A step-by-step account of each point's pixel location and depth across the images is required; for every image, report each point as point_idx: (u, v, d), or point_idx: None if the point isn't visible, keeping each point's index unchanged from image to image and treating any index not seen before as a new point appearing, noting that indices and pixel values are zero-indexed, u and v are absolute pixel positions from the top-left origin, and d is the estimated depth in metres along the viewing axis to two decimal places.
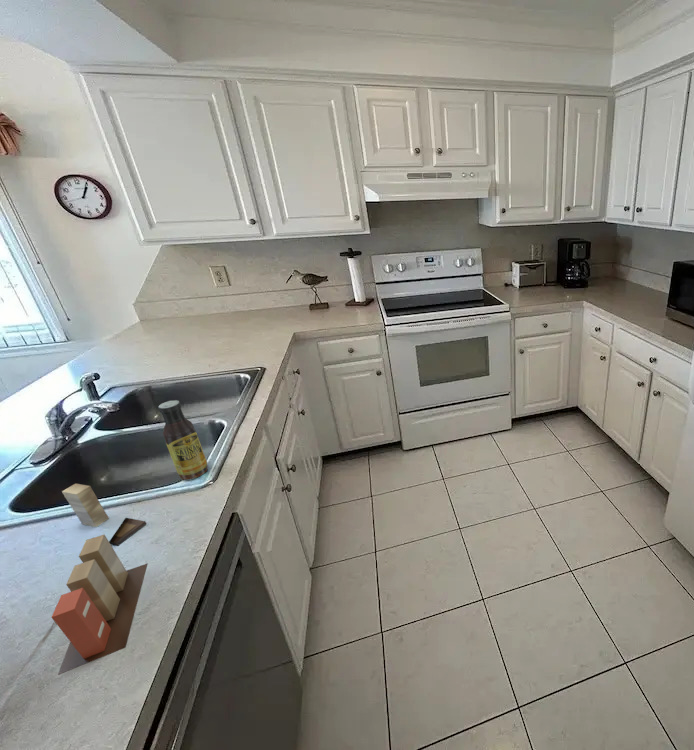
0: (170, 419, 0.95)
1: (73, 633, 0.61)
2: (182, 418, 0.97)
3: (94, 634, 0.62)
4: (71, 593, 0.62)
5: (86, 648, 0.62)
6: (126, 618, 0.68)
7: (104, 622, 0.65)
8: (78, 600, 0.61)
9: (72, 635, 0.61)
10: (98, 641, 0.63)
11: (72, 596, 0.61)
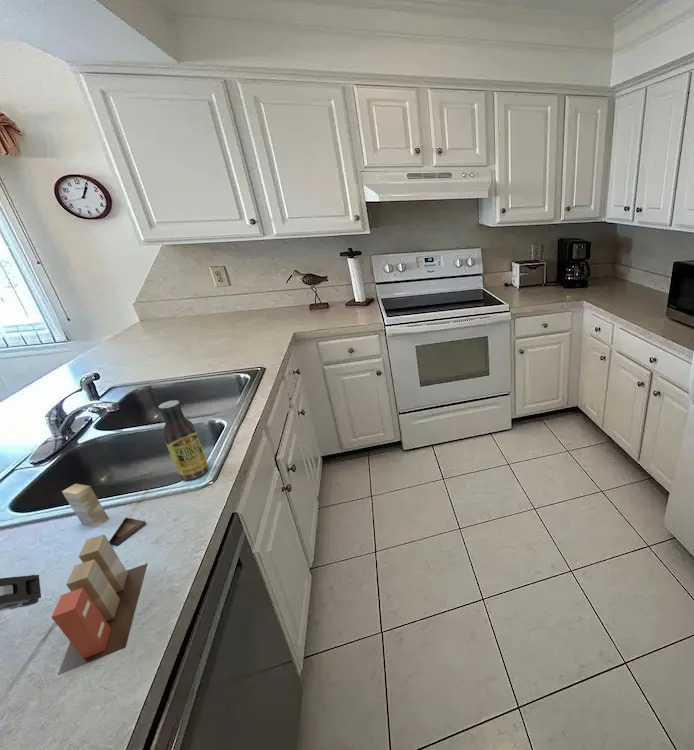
0: (170, 419, 0.95)
1: (73, 633, 0.61)
2: (182, 418, 0.97)
3: (94, 634, 0.62)
4: (71, 593, 0.62)
5: (86, 648, 0.62)
6: (126, 618, 0.68)
7: (104, 622, 0.65)
8: (78, 600, 0.61)
9: (72, 635, 0.61)
10: (98, 641, 0.63)
11: (72, 596, 0.61)
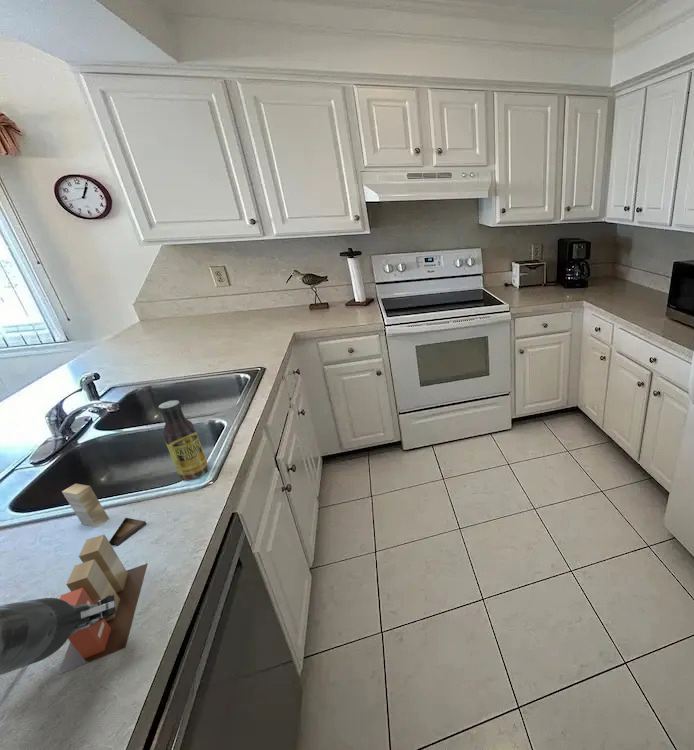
0: (170, 419, 0.95)
1: None
2: (182, 418, 0.97)
3: (94, 634, 0.62)
4: (71, 593, 0.62)
5: (86, 648, 0.62)
6: (126, 618, 0.68)
7: (104, 622, 0.65)
8: (78, 600, 0.61)
9: (72, 635, 0.61)
10: (98, 641, 0.63)
11: (72, 596, 0.61)
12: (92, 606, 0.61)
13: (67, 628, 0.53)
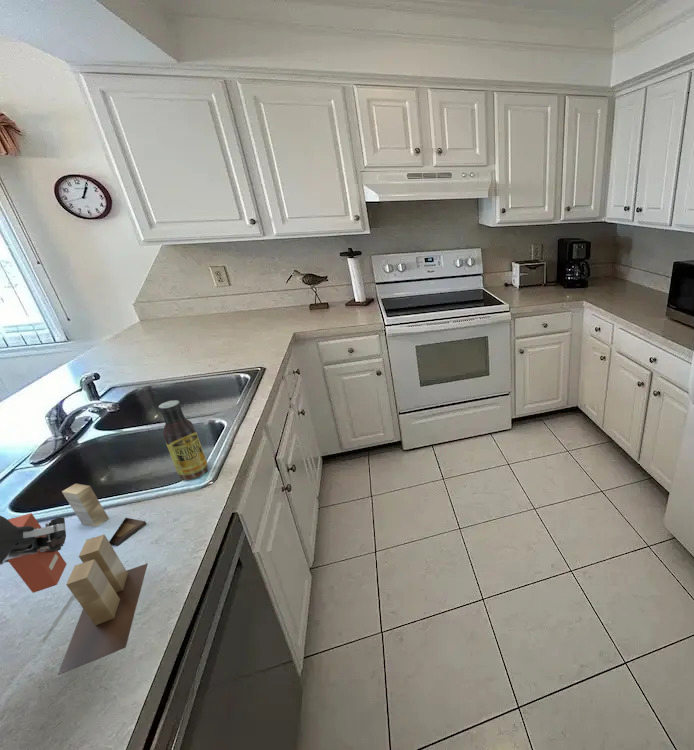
0: (170, 419, 0.95)
1: (19, 561, 0.54)
2: (182, 418, 0.97)
3: (43, 565, 0.56)
4: (17, 518, 0.55)
5: (35, 580, 0.56)
6: (126, 618, 0.68)
7: (58, 555, 0.59)
8: (25, 524, 0.54)
9: (18, 564, 0.54)
10: (49, 573, 0.56)
11: (18, 521, 0.55)
12: None
13: (4, 544, 0.47)
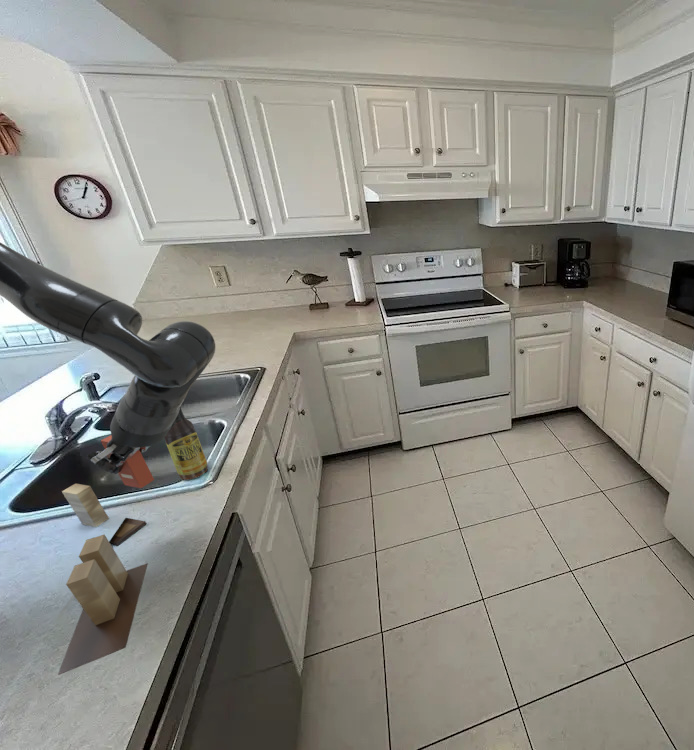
0: None
1: (133, 460, 0.73)
2: (182, 418, 0.97)
3: (145, 463, 0.75)
4: (109, 436, 0.72)
5: (142, 477, 0.75)
6: (126, 618, 0.68)
7: None
8: None
9: (132, 462, 0.73)
10: (149, 470, 0.76)
11: None
12: None
13: None
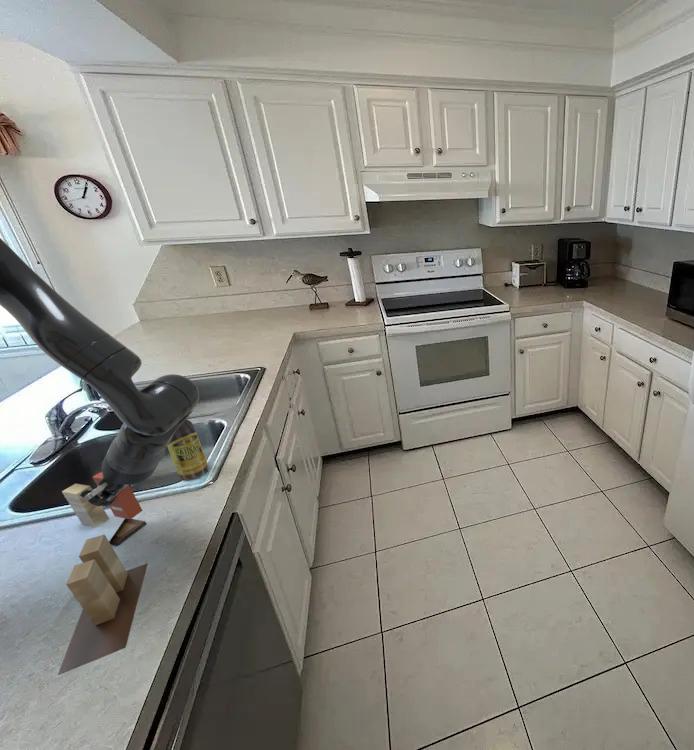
0: None
1: (123, 494, 0.79)
2: None
3: (134, 496, 0.82)
4: (100, 473, 0.79)
5: (131, 508, 0.81)
6: (126, 618, 0.68)
7: None
8: None
9: (122, 496, 0.79)
10: (137, 502, 0.82)
11: None
12: None
13: None
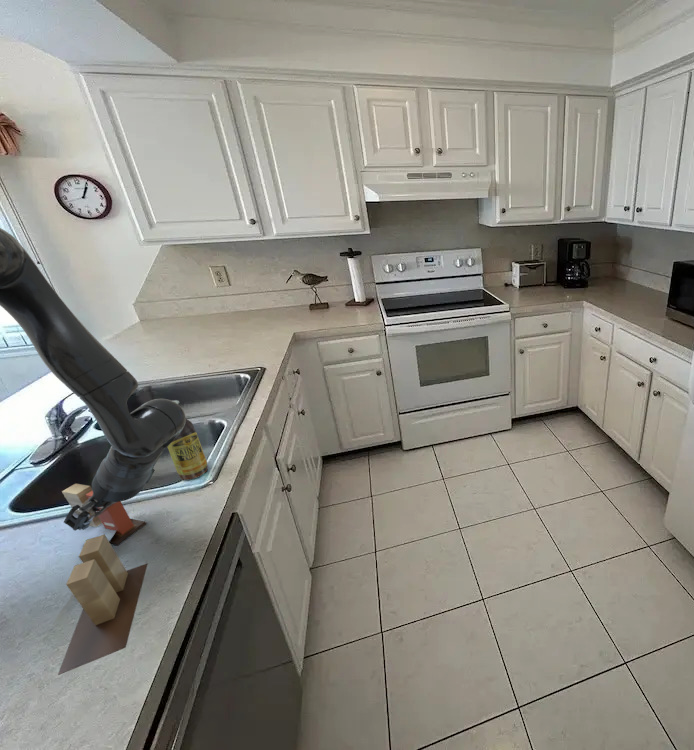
0: None
1: (115, 511, 0.83)
2: None
3: (126, 512, 0.85)
4: None
5: (123, 524, 0.85)
6: (126, 618, 0.68)
7: None
8: None
9: (114, 513, 0.83)
10: (129, 518, 0.86)
11: None
12: None
13: None
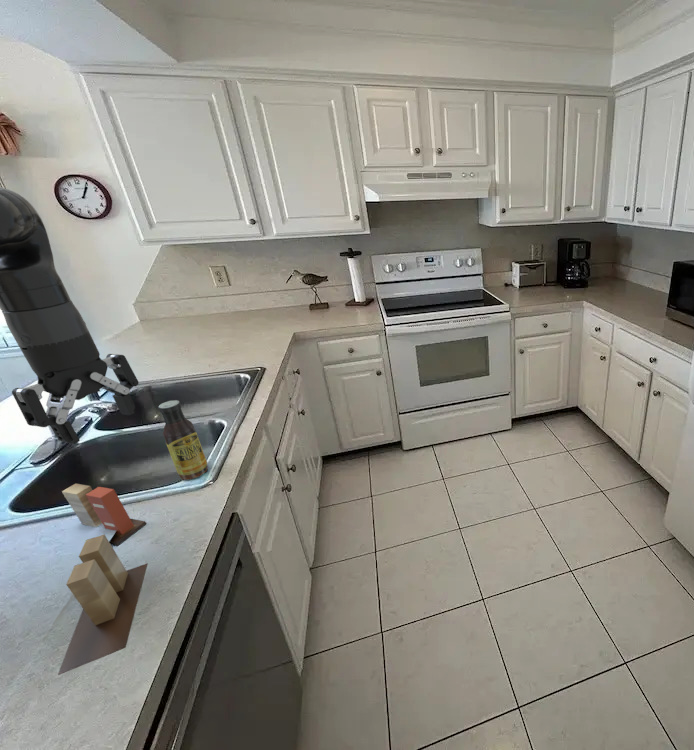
0: (170, 419, 0.95)
1: (115, 511, 0.83)
2: (182, 418, 0.97)
3: (126, 512, 0.85)
4: (93, 490, 0.82)
5: (123, 524, 0.85)
6: (126, 618, 0.68)
7: None
8: (107, 488, 0.83)
9: (114, 513, 0.83)
10: (129, 518, 0.86)
11: (98, 490, 0.82)
12: None
13: None
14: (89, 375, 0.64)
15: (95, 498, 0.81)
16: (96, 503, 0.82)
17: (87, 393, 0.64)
